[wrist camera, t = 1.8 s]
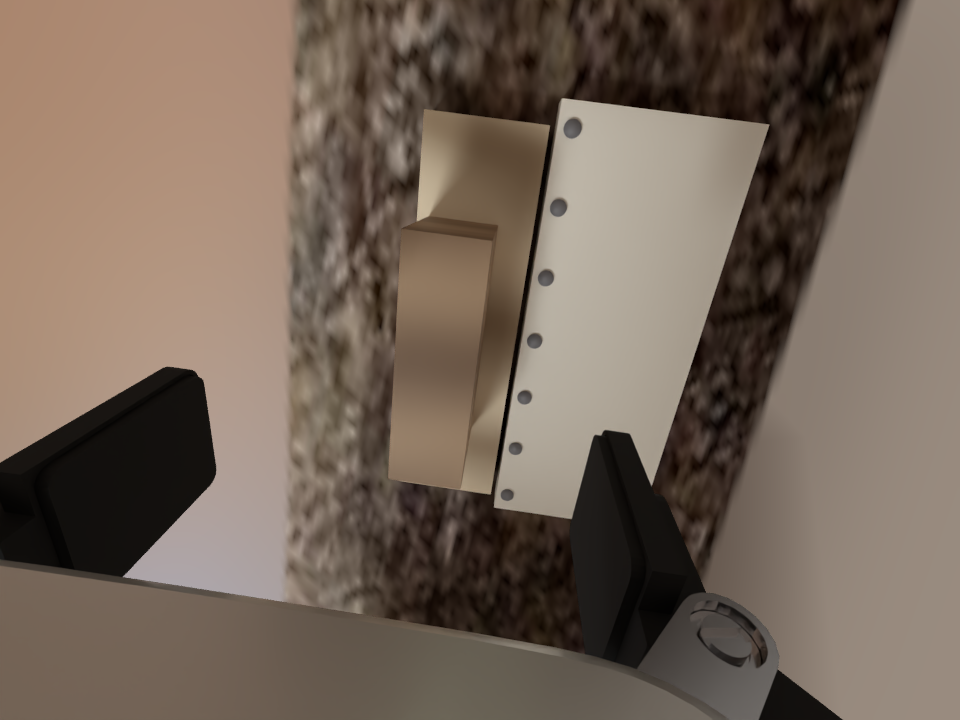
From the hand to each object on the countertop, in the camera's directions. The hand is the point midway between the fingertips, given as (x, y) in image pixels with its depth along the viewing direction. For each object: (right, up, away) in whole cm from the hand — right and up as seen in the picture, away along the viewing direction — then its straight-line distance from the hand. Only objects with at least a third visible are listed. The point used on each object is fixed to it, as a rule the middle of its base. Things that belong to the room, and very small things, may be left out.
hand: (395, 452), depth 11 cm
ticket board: (+8, +3, +12) cm, 15 cm away
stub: (+1, +4, +12) cm, 13 cm away
